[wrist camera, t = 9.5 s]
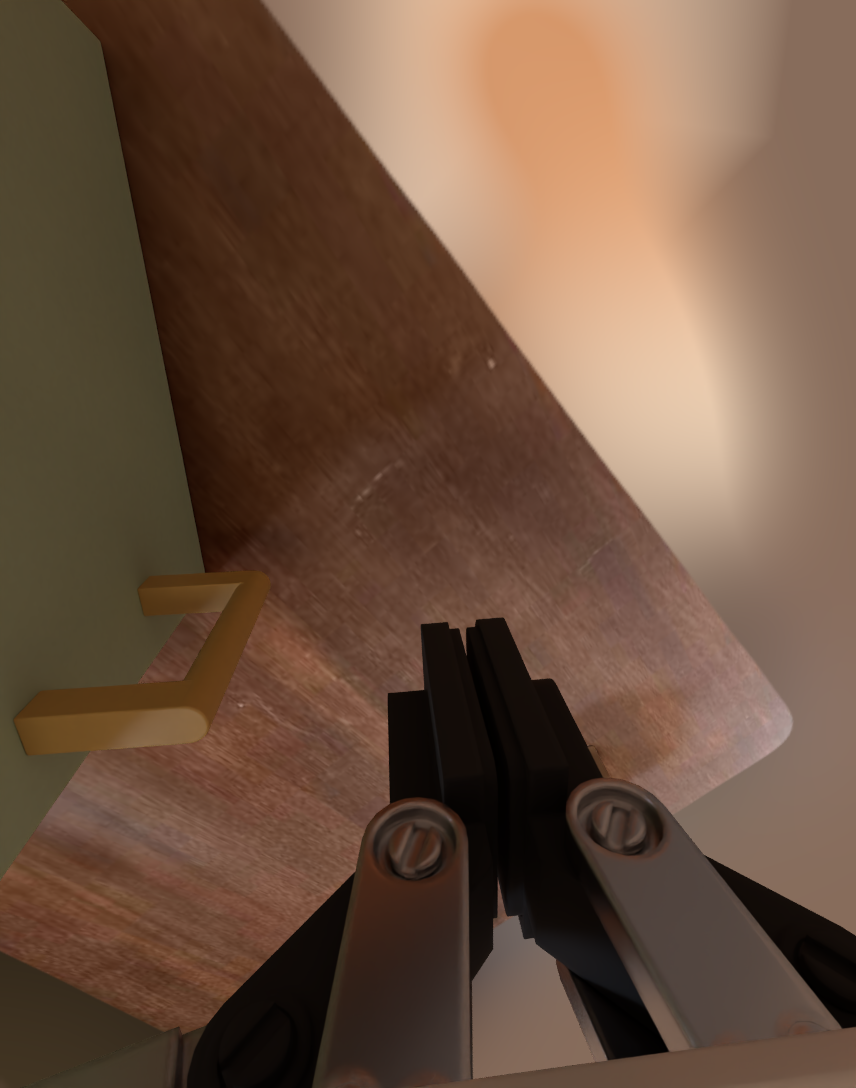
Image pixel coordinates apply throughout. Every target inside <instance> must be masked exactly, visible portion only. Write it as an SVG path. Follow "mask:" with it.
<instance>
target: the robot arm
mask: <svg viewBox="0 0 856 1088" xmlns="http://www.w3.org/2000/svg"><path fill="white" fill-rule="evenodd" d="M421 640H422V657H423V674H424V690H419V691H408V692H397V693H388V735H389V781H390V804H389V805H388V806H386V807H385V808H383V809H382V810H381V811H379V812H378V813H377V814H376V815H375V816H374V818H373V819H372V820H371V821H370V823H369V824H368V825H367V828H366V830H365V833H364V836H363V838H362V842H361V847H360V852H359V857H358V862H357V867H356V871H355V872H354V873H353V874H352V875H351V876H350V877H349V878H348V879H347V880H346V882H345V883H344V884H343V885H342V886H341V887H340V888H339V889H338V890H337V891H336V892H335V893H334V894H333V895H332V896H331V897H330V898H329V899H328V900H327V901H326V902H325V903H324V904H323V905H322V906H321V907H320V908H319V909H318V910H317V911H316V912H315V913H314V914H313V915H312V916H311V917H310V918H309V919H308V920H307V921H306V922H305V923H304V924H303V925H302V926H301V927H300V928H299V929H298V930H297V931H296V932H295V933H294V934H293V935H292V936H291V937H290V938H289V939H288V940H287V941H286V942H285V943H284V944H283V945H282V946H281V947H280V948H279V949H278V950H277V951H276V952H275V953H274V954H273V955H272V956H271V957H270V958H269V959H268V960H267V961H266V962H265V963H264V964H263V965H262V966H261V967H260V968H259V969H258V970H257V971H256V972H255V973H254V974H253V975H252V976H251V977H250V978H249V979H248V980H247V981H246V982H245V983H244V984H243V985H242V986H241V987H240V988H239V989H238V990H237V991H236V992H235V993H234V994H233V995H232V996H231V997H230V998H229V999H228V1000H227V1001H226V1002H225V1003H224V1004H223V1005H222V1007H221V1008H220V1009H219V1010H218V1012H217V1013H216V1014H215V1015H214V1017H213V1018H212V1019H211V1020H210V1022H209V1023H208V1024H207V1025H206V1026H204V1027H201V1028H199V1029H196V1030H194V1031H191V1032H189V1033H186V1034H183V1035H182V1032H181V1030H180V1027H176V1028H174V1029H171V1030H169V1031H166V1032H163V1033H161V1034H158V1035H156V1036H153V1037H151V1038H148V1039H145V1040H143V1041H140V1042H138V1043H135V1044H133V1045H130V1046H128V1047H125V1048H122V1049H120V1050H117V1051H115V1052H112V1053H109V1054H107V1055H104V1056H102V1057H99V1058H97V1059H94V1060H91V1061H89V1062H86V1063H84V1064H81V1065H78V1066H76V1067H73V1068H71V1069H69V1070H66V1071H63V1072H60V1073H58V1074H55V1075H53V1076H50V1077H48V1078H45V1079H43V1080H40V1081H37V1082H35V1083H32V1084H30V1085H27V1086H24V1087H22V1088H856V936H855V935H854V934H852V933H850V932H849V931H847V930H846V929H844V928H843V927H841V926H839V925H837V924H835V923H833V922H831V921H829V920H827V919H826V918H824V917H822V916H820V915H818V914H816V913H814V912H812V911H810V910H808V909H806V908H805V907H803V906H801V905H798V904H797V903H795V902H793V901H791V900H789V899H787V898H785V897H783V896H781V895H780V894H778V893H776V892H774V891H772V890H770V889H768V888H766V887H764V886H762V885H761V884H759V883H756V882H755V881H753V880H751V879H749V878H747V877H745V876H743V875H741V874H739V873H737V872H736V871H734V870H732V869H730V868H728V867H726V866H724V865H722V864H720V863H718V862H717V861H714V860H713V859H711V858H709V857H707V856H705V855H703V853H702V852H701V851H700V850H699V848H698V847H697V846H696V845H695V843H694V842H693V841H692V839H691V838H690V837H689V836H688V834H687V833H686V832H685V831H684V829H683V828H682V827H681V826H680V825H679V823H678V822H677V821H676V819H675V818H674V817H673V816H672V814H671V813H670V812H669V811H668V809H667V808H666V807H665V806H664V805H663V804H662V803H661V802H660V801H659V800H658V799H657V798H656V797H655V796H654V795H653V794H651V793H650V792H648V791H646V790H645V789H643V788H642V787H640V786H638V785H636V784H633V783H630V782H627V781H625V780H621V779H614V778H603V776H602V774H601V772H600V770H599V768H598V766H597V764H596V762H595V760H594V758H593V756H592V754H591V752H590V750H589V748H588V746H587V744H586V742H585V740H584V738H583V736H582V734H581V732H580V730H579V728H578V727H577V725H576V723H575V721H574V719H573V717H572V715H571V713H570V711H569V709H568V707H567V705H566V703H565V701H564V699H563V697H562V695H561V693H560V691H559V689H558V687H557V685H556V683H555V682H554V680H552V679H539V680H531V678H530V676H529V673H528V671H527V669H526V667H525V664H524V662H523V660H522V657H521V655H520V653H519V651H518V648H517V646H516V644H515V642H514V639H513V637H512V635H511V632H510V630H509V628H508V626H507V623H506V621H505V619H504V618H490V619H479V620H476V624H475V627H468V628H467V629H466V651H467V656H466V653H465V649H464V645H463V642H462V638H461V634H460V630H459V628H457V629H449V625H448V622H443V623H431V624H421ZM498 880H499V885H500V889H501V894H502V899H503V903H504V908H505V912H506V915H507V916H516V915H518V916H519V920H520V925H521V929H522V933H523V937H524V939H529V938H534V939H535V942H536V944H537V945H538V946H540V947H541V948H542V949H543V950H545V951H546V952H547V953H549V954H550V955H552V956H553V957H554V958H555V959H556V965H557V969H558V972H559V976H560V980H561V982H562V984H563V987H564V989H565V991H566V994H567V996H568V998H569V1001H570V1003H571V1005H572V1008H573V1011H574V1013H575V1015H576V1018H577V1020H578V1022H579V1025H580V1027H581V1030H582V1032H583V1034H584V1037H585V1039H586V1042H587V1044H588V1046H589V1049H590V1051H591V1054H592V1055H593V1058H594V1061H595V1062H594V1063H586V1064H579V1065H572V1066H565V1067H558V1068H550V1069H543V1070H536V1071H528V1072H521V1073H514V1074H507V1075H500V1076H493V1077H486V1078H479V1079H473V1046H472V1045H473V1042H472V1039H473V1038H472V980H473V979H474V977H475V975H476V974H477V972H478V971H479V970H480V968H481V966H482V965H483V963H484V962H485V960H486V959H487V957H488V956H489V954H490V953H491V951H492V950H493V918H497V908H498Z"/></svg>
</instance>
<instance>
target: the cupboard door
mask: <svg viewBox="0 0 856 1088" xmlns="http://www.w3.org/2000/svg"><path fill="white" fill-rule="evenodd" d="M270 587H271V583H270V580H269V578H268V576H267V575H266V574H264V573H263V572H260V571H253V570H249V571H231V572H213V573H205V570H204V565H203V560H202V555H201V550H200V544H199V539H198V534H197V529H196V524H195V519H194V514H193V509H192V504H191V499H190V494H189V489H188V483H187V478H186V473H185V468H184V463H183V458H182V453H181V448H180V443H179V438H178V433H177V428H176V423H175V417H174V412H173V407H172V402H171V397H170V392H169V387H168V382H167V377H166V372H165V367H164V362H163V356H162V351H161V346H160V341H159V336H158V331H157V326H156V321H155V316H154V311H153V306H152V301H151V295H150V290H149V285H148V280H147V275H146V270H145V265H144V260H143V255H142V250H141V245H140V240H139V235H138V229H137V224H136V219H135V214H134V209H133V204H132V199H131V194H130V189H129V184H128V179H127V174H126V168H125V163H124V158H123V153H122V148H121V143H120V138H119V133H118V128H117V123H116V118H115V113H114V108H113V102H112V97H111V92H110V87H109V82H108V77H107V72H106V67H105V62H104V57H103V52H102V47H101V42H100V41H99V40H98V38H97V37H96V36H95V35H94V34H93V33H92V32H91V31H90V30H89V29H88V28H87V27H86V26H85V25H84V24H83V23H82V22H81V21H80V19H79V18H78V17H77V16H76V15H75V14H74V13H73V12H72V11H71V10H70V9H69V8H68V7H67V6H66V5H65V4H64V3H63V2H62V1H61V0H0V880H1V879H2V877H3V876H4V874H5V873H6V871H7V870H8V869H9V867H10V866H11V864H12V863H13V861H14V860H15V858H16V857H17V856H18V854H19V853H20V851H21V850H22V848H23V847H24V846H25V844H26V843H27V841H28V840H29V838H30V837H31V836H32V834H33V833H34V831H35V830H36V828H37V827H38V825H39V824H40V823H41V821H42V820H43V818H44V817H45V815H46V814H47V813H48V811H49V810H50V808H51V807H52V805H53V804H54V802H55V801H56V800H57V798H58V797H59V795H60V794H61V792H62V791H63V790H64V788H65V787H66V785H67V784H68V782H69V781H70V779H71V778H72V777H73V775H74V774H75V772H76V771H77V769H78V768H79V767H80V765H81V764H82V762H83V761H84V759H85V758H86V756H87V755H88V754H89V752H90V751H96V750H109V749H122V748H135V747H148V746H160V745H173V744H186V743H193V742H196V741H199V740H200V739H202V738H203V737H204V736H206V734H207V733H208V731H209V729H210V726H211V724H212V722H213V719H214V717H215V715H216V713H217V710H218V708H219V706H220V703H221V701H222V699H223V696H224V694H225V692H226V689H227V687H228V685H229V682H230V680H231V678H232V675H233V673H234V671H235V669H236V666H237V664H238V662H239V659H240V657H241V655H242V652H243V650H244V648H245V645H246V643H247V641H248V638H249V636H250V634H251V632H252V629H253V627H254V625H255V622H256V620H257V618H258V615H259V613H260V611H261V608H262V606H263V604H264V601H265V599H266V597H267V594H268V592H269V590H270ZM221 611H223V612H222V613H221V615H220V617H219V619H218V620H217V622H216V624H215V626H214V627H213V629H212V631H211V633H210V634H209V636H208V638H207V640H206V642H205V643H204V645H203V647H202V649H201V650H200V652H199V654H198V656H197V657H196V659H195V661H194V663H193V664H192V666H191V668H190V670H189V671H188V673H187V675H186V677H185V678H184V680H183V681H173V682H159V683H145V684H137V683H138V682H139V680H140V679H141V677H142V676H143V675H144V673H145V672H146V670H147V669H148V667H149V666H150V664H151V663H152V662H153V660H154V659H155V657H156V656H157V654H158V653H159V652H160V650H161V649H162V647H163V646H164V644H165V643H166V641H167V640H168V639H169V637H170V636H171V634H172V633H173V631H174V630H175V629H176V627H177V626H178V624H179V623H180V621H181V620H182V618H183V617H184V616H185V614H188V613H204V612H221Z"/></svg>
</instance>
